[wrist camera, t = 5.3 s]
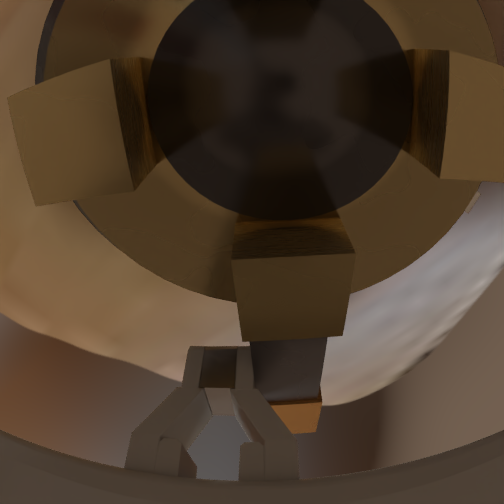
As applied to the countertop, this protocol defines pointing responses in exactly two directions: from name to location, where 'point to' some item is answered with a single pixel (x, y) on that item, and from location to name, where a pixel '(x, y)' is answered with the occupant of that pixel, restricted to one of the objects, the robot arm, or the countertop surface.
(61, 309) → the countertop surface
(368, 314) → the countertop surface
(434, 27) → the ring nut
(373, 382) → the countertop surface
